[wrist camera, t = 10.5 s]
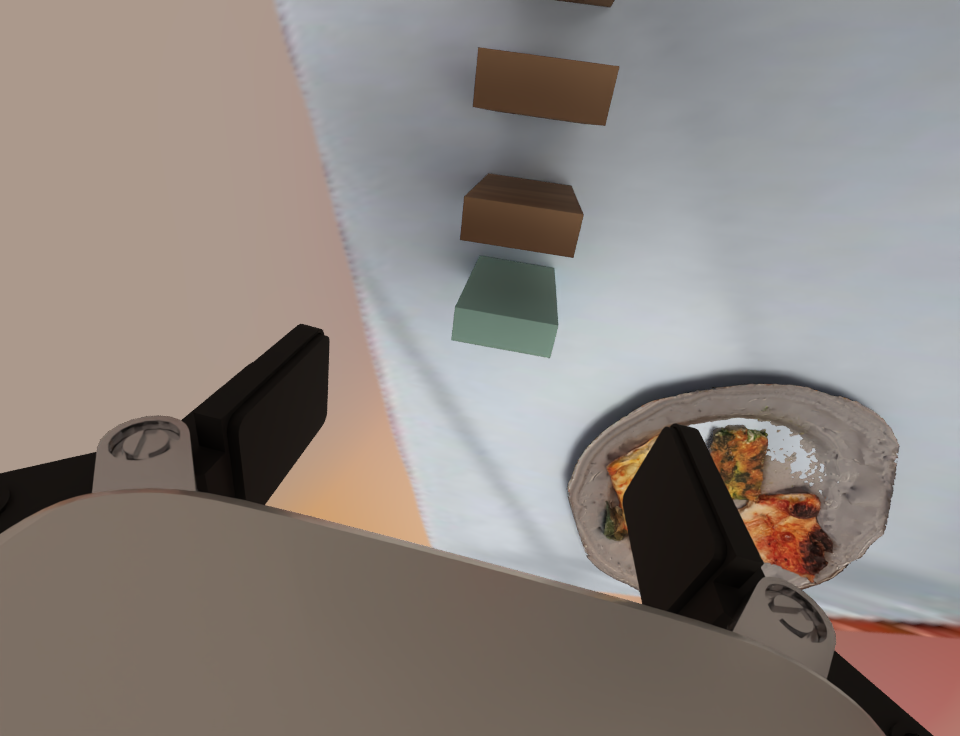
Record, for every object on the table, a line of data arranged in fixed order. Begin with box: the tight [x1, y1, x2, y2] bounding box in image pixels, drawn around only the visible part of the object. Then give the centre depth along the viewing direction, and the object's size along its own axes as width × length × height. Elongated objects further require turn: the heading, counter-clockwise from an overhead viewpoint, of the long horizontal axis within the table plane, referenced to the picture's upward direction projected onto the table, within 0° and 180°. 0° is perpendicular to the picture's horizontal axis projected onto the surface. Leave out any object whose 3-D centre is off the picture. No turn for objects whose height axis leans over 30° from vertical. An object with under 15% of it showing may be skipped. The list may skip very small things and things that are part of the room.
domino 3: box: [451, 256, 558, 358], centre depth 24 cm, size 2×5×9 cm, turn 83°
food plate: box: [566, 384, 900, 592], centre depth 34 cm, size 25×23×4 cm
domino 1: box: [473, 47, 619, 126], centre depth 19 cm, size 2×5×9 cm, turn 83°
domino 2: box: [460, 173, 584, 258], centre depth 22 cm, size 2×5×9 cm, turn 83°
